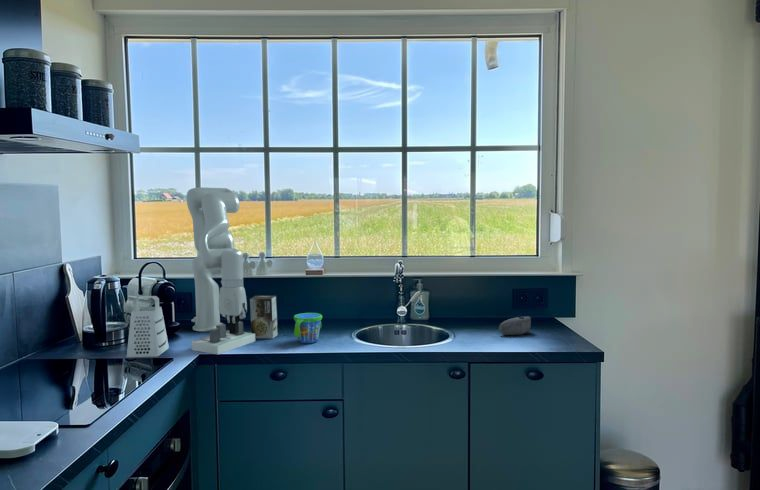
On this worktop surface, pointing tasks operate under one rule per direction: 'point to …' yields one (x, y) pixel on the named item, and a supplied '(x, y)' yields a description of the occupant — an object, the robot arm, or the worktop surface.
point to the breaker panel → (223, 343)
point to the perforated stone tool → (515, 326)
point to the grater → (147, 330)
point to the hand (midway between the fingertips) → (234, 333)
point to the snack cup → (307, 327)
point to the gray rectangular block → (240, 329)
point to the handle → (214, 335)
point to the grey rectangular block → (222, 330)
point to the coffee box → (264, 316)
